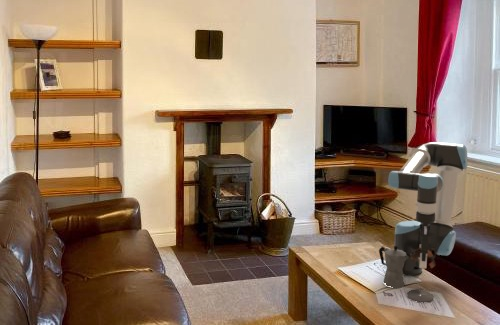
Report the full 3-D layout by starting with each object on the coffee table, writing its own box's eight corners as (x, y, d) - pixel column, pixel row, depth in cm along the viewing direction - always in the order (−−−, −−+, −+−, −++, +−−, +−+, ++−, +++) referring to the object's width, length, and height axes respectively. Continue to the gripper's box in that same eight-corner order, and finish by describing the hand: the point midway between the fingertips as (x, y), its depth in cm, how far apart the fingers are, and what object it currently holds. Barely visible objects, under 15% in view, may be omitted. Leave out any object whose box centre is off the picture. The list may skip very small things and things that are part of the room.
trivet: (406, 290, 237) (406, 288, 237) (433, 293, 234) (433, 290, 234) (406, 300, 227) (407, 298, 226) (434, 304, 224) (434, 301, 223)
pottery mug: (429, 272, 220) (419, 253, 221) (412, 274, 228) (403, 257, 229) (445, 258, 227) (436, 240, 227) (429, 261, 235) (420, 244, 235)
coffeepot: (412, 286, 241) (415, 247, 237) (399, 292, 235) (401, 252, 232) (384, 275, 253) (386, 238, 249) (371, 280, 247) (373, 243, 243)
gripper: (415, 204, 234) (412, 253, 239) (416, 218, 214) (413, 272, 218) (434, 205, 232) (430, 255, 237) (437, 220, 212) (433, 274, 216)
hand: (422, 263), depth 227 cm, fingers closed on pottery mug, 9 cm apart
